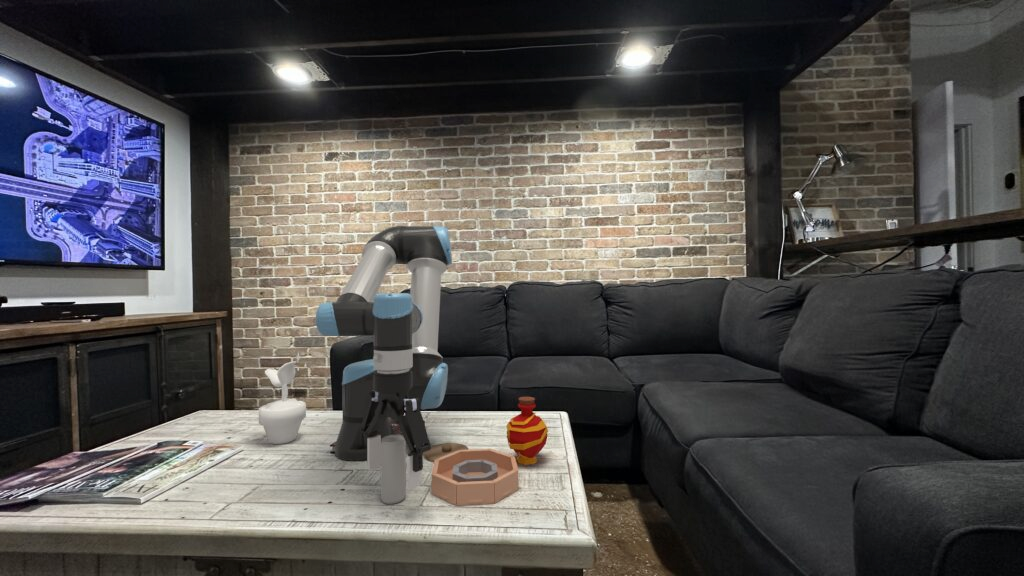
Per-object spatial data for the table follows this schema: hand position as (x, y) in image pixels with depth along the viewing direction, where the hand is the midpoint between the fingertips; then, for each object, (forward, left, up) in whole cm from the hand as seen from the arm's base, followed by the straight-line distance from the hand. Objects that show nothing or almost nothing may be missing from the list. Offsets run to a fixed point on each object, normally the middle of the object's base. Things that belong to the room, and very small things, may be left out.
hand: (393, 477), depth 83 cm
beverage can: (0, 0, -4) cm, 4 cm away
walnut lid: (-9, +22, -5) cm, 24 cm away
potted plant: (-53, 0, -4) cm, 53 cm away
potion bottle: (+9, +32, -4) cm, 34 cm away
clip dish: (+8, +15, -4) cm, 18 cm away
